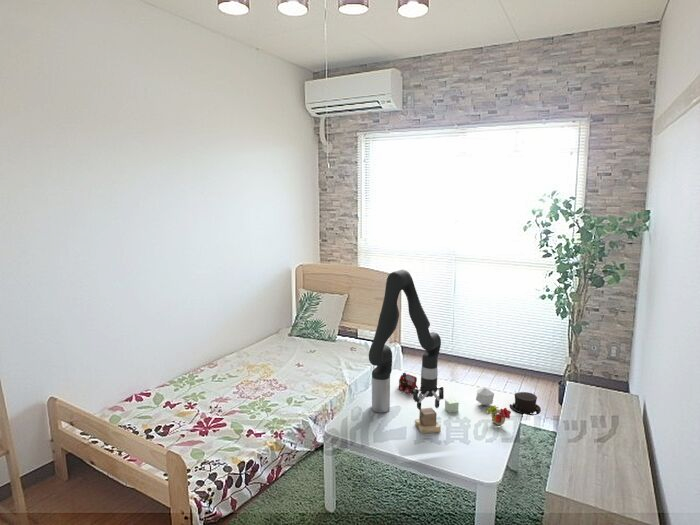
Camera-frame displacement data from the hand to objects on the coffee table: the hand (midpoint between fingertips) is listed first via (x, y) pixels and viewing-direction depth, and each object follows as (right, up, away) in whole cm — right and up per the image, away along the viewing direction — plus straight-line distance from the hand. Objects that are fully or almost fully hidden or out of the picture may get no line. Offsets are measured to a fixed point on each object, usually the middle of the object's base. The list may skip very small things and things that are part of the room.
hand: (427, 408), depth 213 cm
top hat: (+54, -7, +21) cm, 58 cm away
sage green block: (+15, -7, +19) cm, 26 cm away
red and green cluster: (+35, -9, +5) cm, 36 cm away
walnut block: (0, -7, 0) cm, 7 cm away
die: (+34, -7, +24) cm, 42 cm away
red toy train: (-4, -4, +43) cm, 43 cm away
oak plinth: (0, -10, +1) cm, 10 cm away
